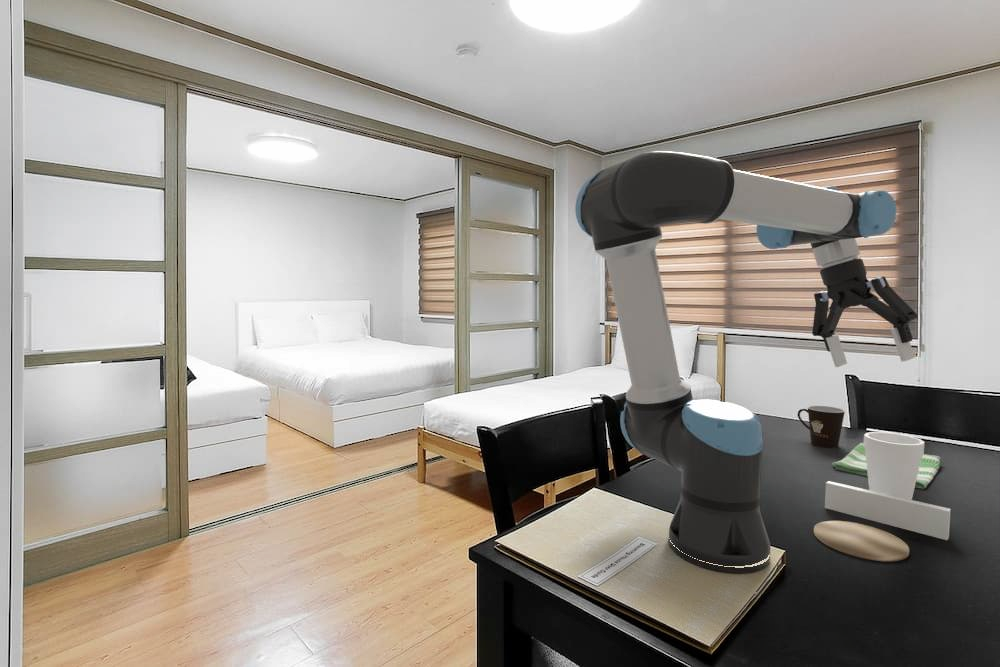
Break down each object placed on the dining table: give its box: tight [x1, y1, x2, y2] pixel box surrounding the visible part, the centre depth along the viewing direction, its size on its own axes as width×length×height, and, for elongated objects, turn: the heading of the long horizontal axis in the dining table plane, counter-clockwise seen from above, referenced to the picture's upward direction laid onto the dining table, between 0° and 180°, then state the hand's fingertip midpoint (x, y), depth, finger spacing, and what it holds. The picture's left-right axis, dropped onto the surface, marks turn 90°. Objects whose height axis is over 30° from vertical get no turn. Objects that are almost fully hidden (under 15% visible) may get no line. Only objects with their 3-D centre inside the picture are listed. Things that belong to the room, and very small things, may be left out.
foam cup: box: [863, 431, 925, 500], centre depth 101 cm, size 10×9×13 cm
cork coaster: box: [813, 520, 910, 562], centre depth 85 cm, size 13×13×1 cm
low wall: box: [824, 480, 952, 541], centre depth 92 cm, size 2×18×5 cm, turn 43°
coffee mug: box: [797, 405, 846, 449], centre depth 142 cm, size 12×9×10 cm
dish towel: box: [831, 442, 941, 490], centre depth 122 cm, size 18×23×3 cm
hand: (872, 362), depth 102 cm, fingers open, 13 cm apart
